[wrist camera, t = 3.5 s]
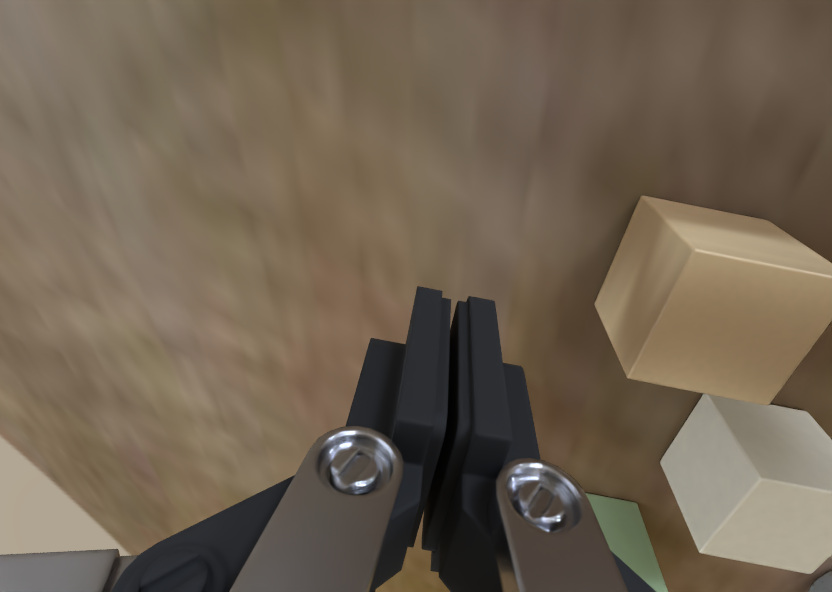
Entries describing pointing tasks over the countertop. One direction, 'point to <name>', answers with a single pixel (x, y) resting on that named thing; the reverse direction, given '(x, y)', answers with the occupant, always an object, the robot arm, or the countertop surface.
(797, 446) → the cream block
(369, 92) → the countertop surface
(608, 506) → the sage block
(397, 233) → the countertop surface
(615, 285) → the birch block
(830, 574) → the ceramic mug
